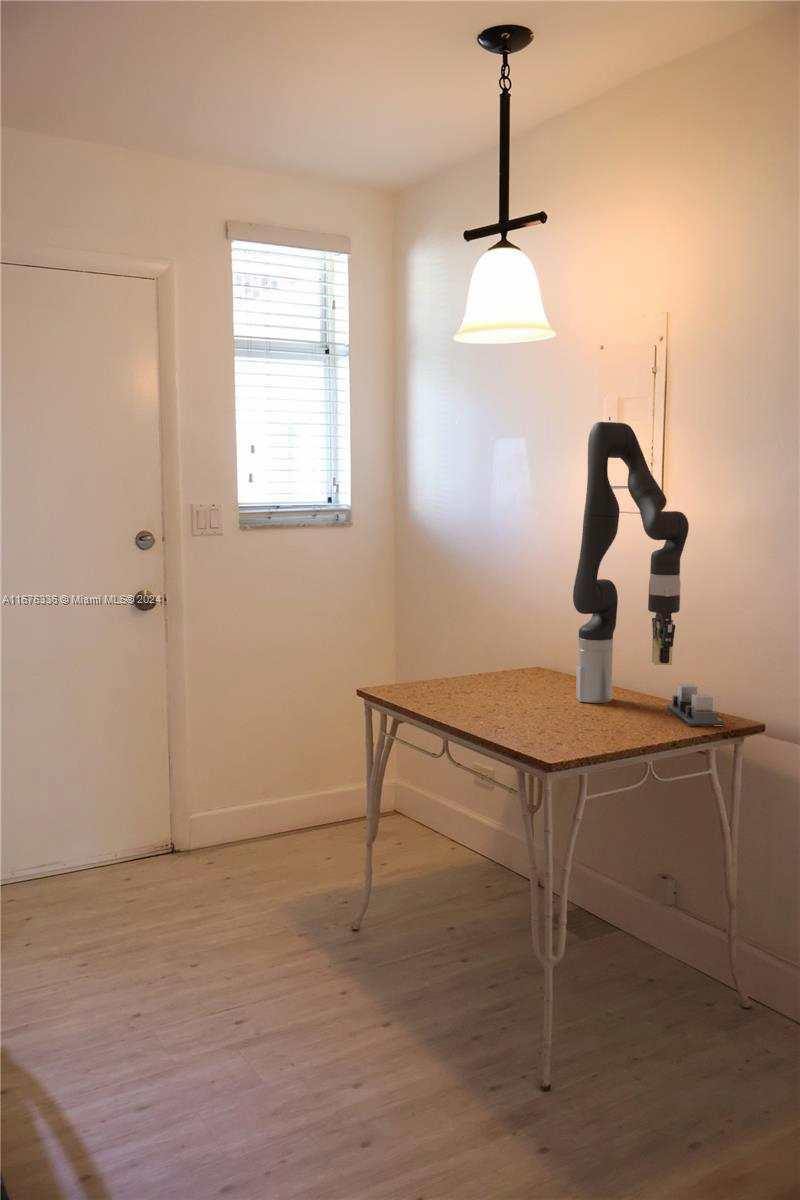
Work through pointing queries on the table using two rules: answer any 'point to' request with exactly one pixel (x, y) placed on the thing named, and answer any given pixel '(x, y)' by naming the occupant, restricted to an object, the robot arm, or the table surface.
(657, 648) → the tan rectangular block
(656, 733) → the table surface
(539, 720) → the table surface
